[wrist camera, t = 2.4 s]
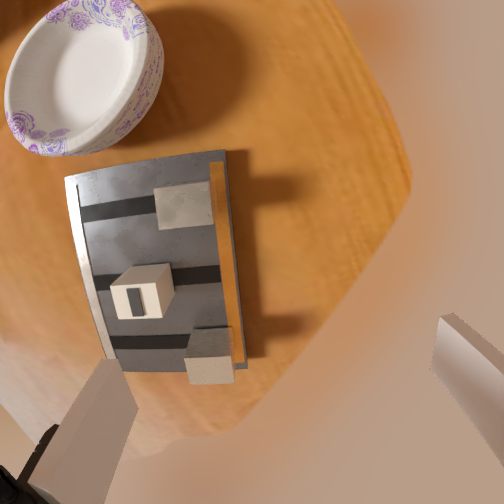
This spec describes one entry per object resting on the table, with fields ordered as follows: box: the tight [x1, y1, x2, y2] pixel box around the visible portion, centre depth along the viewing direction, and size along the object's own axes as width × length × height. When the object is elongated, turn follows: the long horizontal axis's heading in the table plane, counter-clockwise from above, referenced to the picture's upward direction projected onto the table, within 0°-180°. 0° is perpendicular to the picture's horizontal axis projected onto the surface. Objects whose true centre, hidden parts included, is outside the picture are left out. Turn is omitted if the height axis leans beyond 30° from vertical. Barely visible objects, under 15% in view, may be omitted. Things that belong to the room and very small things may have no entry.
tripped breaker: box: [110, 263, 175, 319], centre depth 25 cm, size 4×3×5 cm
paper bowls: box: [4, 0, 164, 156], centre depth 21 cm, size 15×15×8 cm
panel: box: [65, 150, 248, 385], centre depth 26 cm, size 16×22×7 cm
